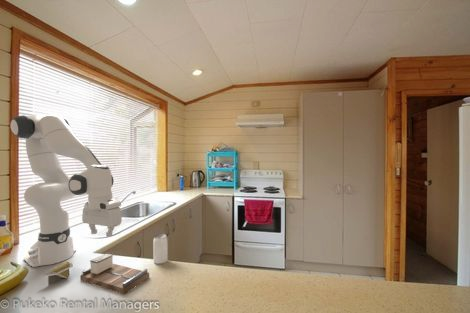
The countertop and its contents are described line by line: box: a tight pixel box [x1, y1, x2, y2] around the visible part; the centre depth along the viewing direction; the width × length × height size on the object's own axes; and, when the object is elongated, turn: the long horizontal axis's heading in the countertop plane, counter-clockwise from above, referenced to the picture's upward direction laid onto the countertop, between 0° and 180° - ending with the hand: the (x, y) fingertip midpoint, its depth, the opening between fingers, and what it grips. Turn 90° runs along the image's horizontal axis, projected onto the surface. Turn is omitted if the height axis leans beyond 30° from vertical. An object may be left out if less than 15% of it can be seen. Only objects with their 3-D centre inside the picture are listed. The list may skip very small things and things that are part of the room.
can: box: [152, 233, 169, 265], centre depth 105 cm, size 6×6×12 cm
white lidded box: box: [89, 253, 114, 274], centre depth 93 cm, size 4×7×5 cm, turn 157°
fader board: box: [80, 263, 150, 295], centre depth 90 cm, size 25×12×4 cm, turn 67°
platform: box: [43, 261, 74, 286], centre depth 90 cm, size 12×18×7 cm, turn 161°
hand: (101, 234), depth 93 cm, fingers open, 8 cm apart
